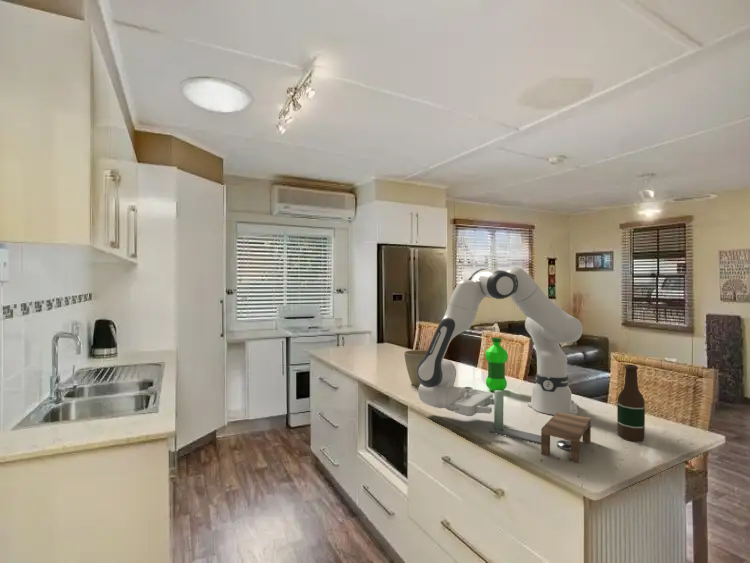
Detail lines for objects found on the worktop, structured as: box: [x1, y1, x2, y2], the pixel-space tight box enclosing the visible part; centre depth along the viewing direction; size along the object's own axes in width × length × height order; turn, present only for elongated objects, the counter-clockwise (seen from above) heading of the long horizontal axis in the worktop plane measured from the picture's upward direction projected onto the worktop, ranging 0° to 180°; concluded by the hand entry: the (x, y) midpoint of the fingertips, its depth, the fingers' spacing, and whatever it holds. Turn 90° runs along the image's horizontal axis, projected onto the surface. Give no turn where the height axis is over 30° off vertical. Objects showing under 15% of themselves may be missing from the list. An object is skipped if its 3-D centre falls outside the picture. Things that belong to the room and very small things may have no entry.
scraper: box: [489, 390, 541, 446], centre depth 132 cm, size 17×6×14 cm, turn 52°
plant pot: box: [403, 349, 428, 387], centre depth 198 cm, size 15×15×16 cm
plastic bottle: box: [485, 336, 509, 392], centre depth 187 cm, size 10×10×25 cm
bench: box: [540, 412, 592, 464], centre depth 123 cm, size 20×10×8 cm, turn 142°
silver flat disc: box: [556, 439, 571, 452], centre depth 123 cm, size 6×6×1 cm
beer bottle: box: [616, 364, 646, 443], centre depth 131 cm, size 8×8×24 cm
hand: (496, 407), depth 136 cm, fingers open, 8 cm apart
